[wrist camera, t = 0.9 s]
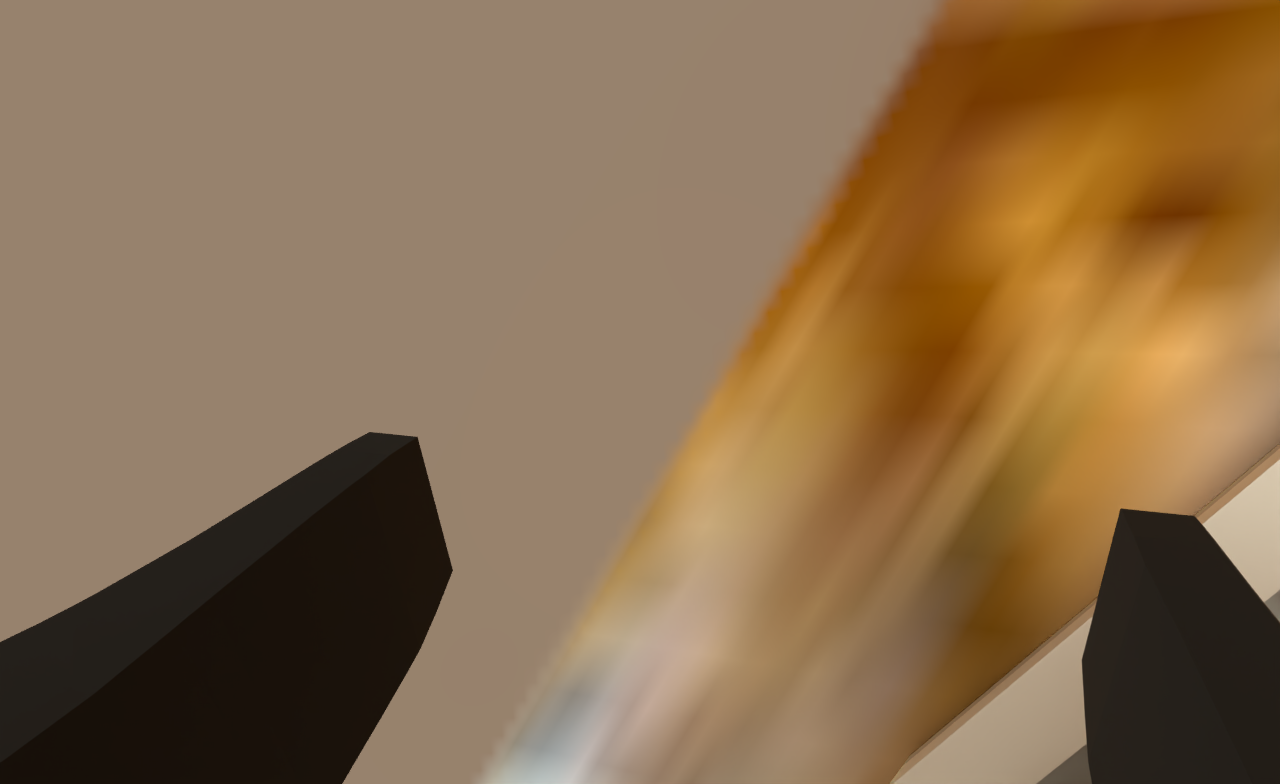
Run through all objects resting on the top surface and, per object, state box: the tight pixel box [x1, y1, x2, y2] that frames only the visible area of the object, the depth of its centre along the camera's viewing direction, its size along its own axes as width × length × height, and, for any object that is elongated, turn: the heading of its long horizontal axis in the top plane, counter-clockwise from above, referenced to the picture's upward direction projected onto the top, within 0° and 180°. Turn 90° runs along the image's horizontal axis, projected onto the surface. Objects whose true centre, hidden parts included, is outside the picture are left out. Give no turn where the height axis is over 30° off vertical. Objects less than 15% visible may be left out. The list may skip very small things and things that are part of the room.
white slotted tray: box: [890, 444, 1280, 784], centre depth 19 cm, size 7×14×3 cm, turn 134°
